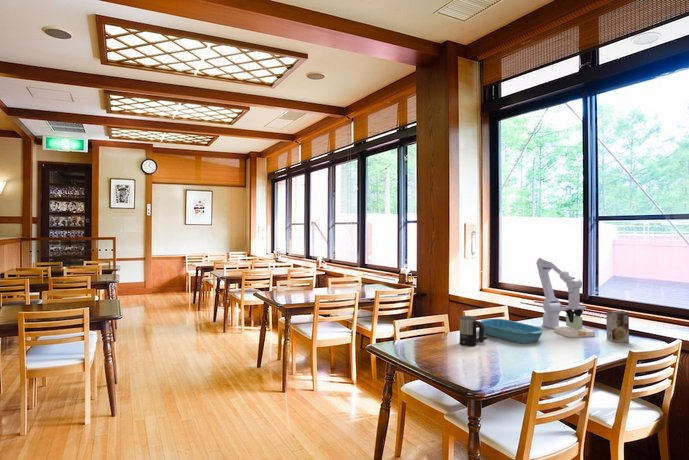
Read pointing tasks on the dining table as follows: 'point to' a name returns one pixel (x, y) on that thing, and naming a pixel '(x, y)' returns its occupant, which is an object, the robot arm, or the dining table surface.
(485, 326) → the casserole dish
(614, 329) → the coffee box
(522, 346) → the dining table surface
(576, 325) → the blanking panel
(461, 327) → the milk frother
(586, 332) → the slot rack
